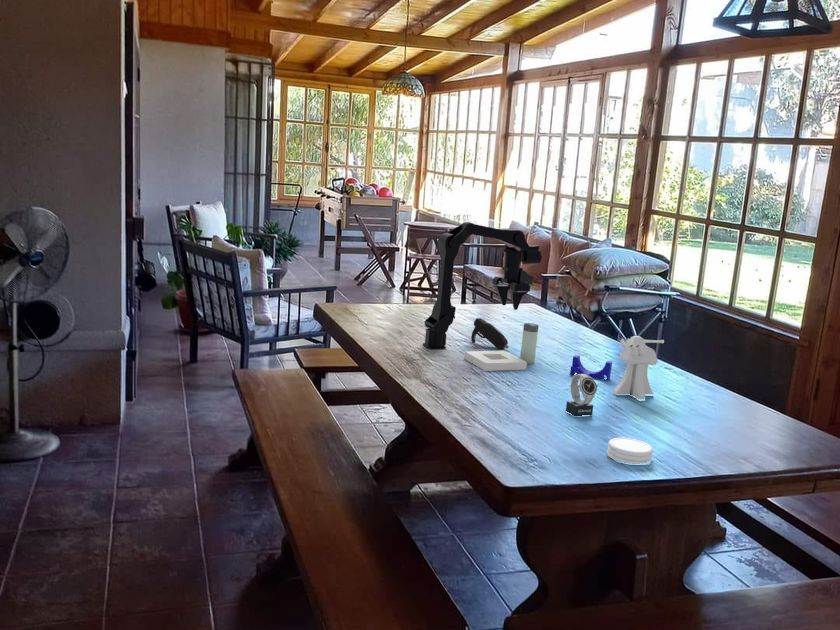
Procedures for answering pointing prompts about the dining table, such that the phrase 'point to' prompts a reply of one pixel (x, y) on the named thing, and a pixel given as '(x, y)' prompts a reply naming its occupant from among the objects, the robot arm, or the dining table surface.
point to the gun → (489, 334)
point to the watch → (588, 392)
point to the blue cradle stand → (579, 369)
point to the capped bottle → (529, 342)
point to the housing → (495, 360)
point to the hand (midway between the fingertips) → (509, 307)
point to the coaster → (629, 450)
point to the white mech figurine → (636, 366)
